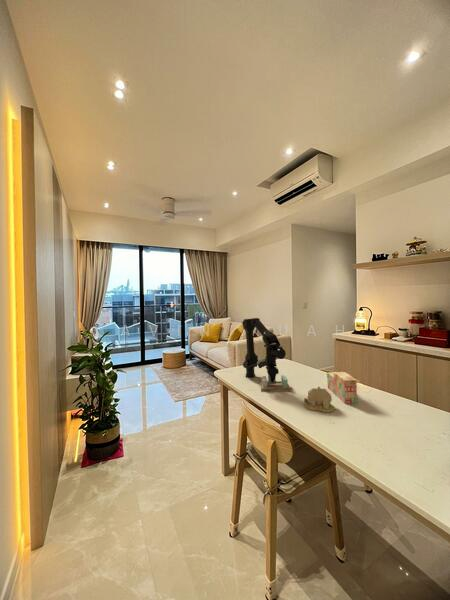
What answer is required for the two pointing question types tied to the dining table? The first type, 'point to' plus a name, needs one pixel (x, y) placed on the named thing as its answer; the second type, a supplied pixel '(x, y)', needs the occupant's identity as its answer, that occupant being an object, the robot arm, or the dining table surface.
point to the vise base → (272, 386)
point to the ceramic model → (319, 400)
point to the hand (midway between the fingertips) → (271, 380)
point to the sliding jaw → (284, 381)
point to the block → (270, 380)
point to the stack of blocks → (343, 386)
